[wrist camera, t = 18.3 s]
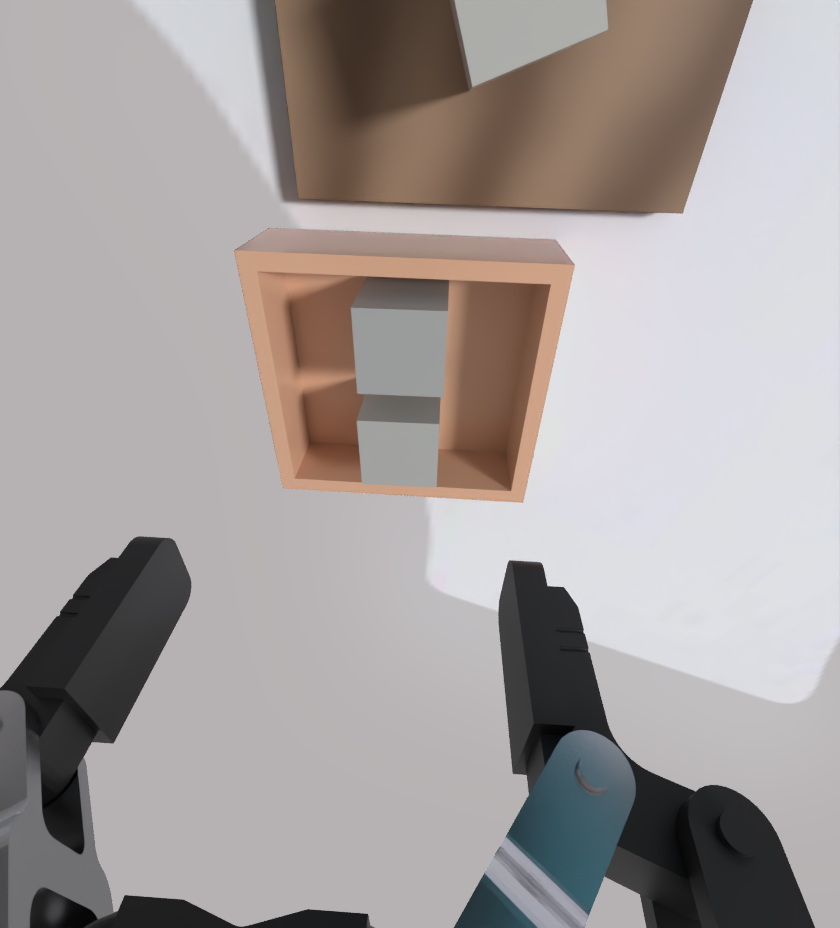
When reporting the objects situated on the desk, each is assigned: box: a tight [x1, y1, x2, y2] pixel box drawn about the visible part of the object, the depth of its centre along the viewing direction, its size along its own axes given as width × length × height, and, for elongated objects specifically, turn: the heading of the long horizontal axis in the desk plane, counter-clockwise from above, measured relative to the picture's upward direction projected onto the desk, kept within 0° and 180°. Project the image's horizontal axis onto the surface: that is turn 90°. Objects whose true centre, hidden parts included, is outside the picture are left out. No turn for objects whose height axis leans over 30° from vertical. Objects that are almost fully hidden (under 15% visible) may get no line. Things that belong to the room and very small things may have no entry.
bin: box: [234, 228, 575, 503], centre depth 25 cm, size 14×13×4 cm
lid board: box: [275, 0, 753, 213], centre depth 18 cm, size 17×10×1 cm, turn 88°
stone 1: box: [351, 276, 449, 397], centre depth 22 cm, size 4×4×5 cm
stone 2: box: [357, 394, 441, 488], centre depth 26 cm, size 4×4×5 cm
